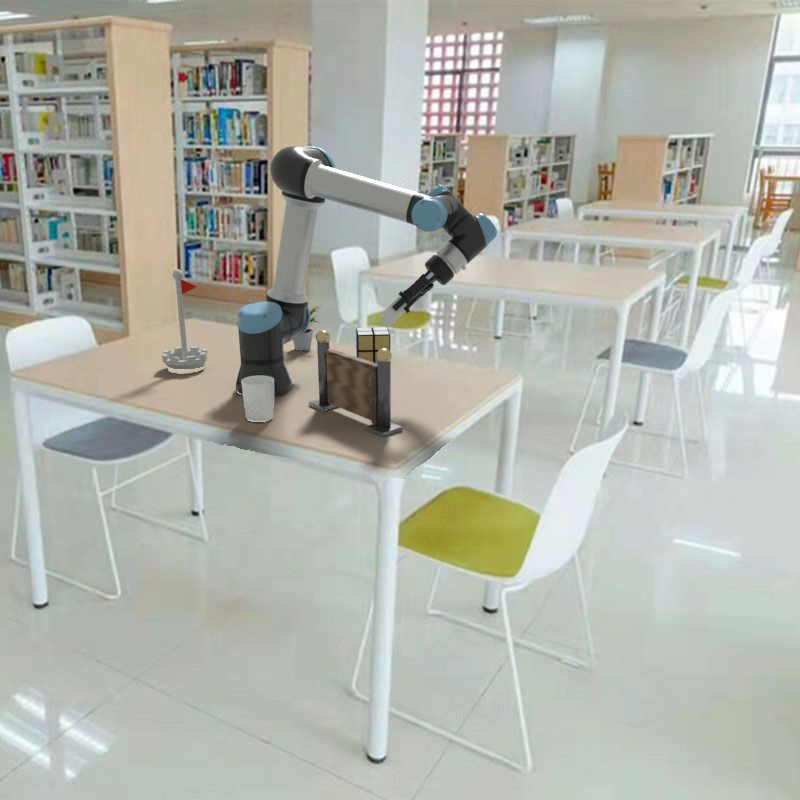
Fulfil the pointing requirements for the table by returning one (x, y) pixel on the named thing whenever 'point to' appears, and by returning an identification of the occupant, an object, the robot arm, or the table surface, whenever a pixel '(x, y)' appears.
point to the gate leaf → (352, 384)
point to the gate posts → (383, 387)
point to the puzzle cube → (371, 342)
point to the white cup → (258, 397)
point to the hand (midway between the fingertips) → (383, 321)
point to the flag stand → (183, 335)
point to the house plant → (306, 335)
